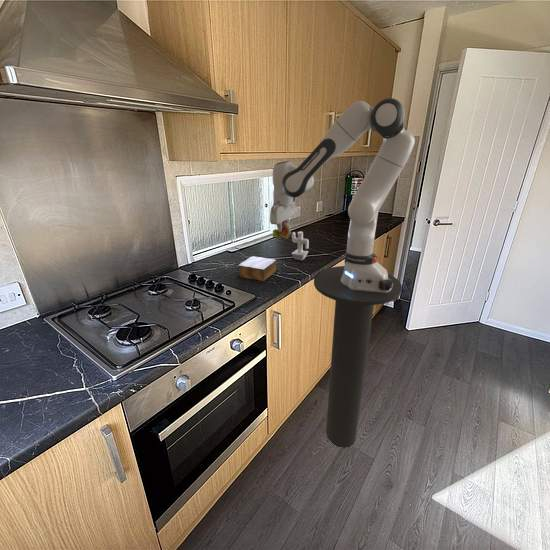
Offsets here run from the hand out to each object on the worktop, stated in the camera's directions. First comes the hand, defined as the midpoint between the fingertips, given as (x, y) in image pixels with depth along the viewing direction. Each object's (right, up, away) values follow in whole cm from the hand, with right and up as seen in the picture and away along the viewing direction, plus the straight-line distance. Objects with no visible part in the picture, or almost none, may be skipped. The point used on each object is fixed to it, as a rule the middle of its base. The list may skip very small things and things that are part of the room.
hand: (282, 229), depth 138 cm
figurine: (+10, -13, +23) cm, 28 cm away
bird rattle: (0, -4, +2) cm, 4 cm away
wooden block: (-12, -21, +4) cm, 24 cm away
